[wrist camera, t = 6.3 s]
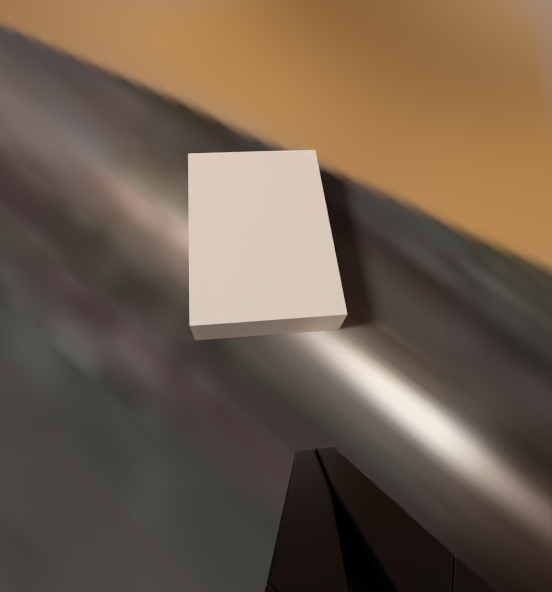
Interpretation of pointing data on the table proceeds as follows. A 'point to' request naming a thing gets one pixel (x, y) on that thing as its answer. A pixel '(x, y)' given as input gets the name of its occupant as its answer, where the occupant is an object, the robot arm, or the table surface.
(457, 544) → the table surface
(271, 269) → the tile
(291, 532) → the robot arm
